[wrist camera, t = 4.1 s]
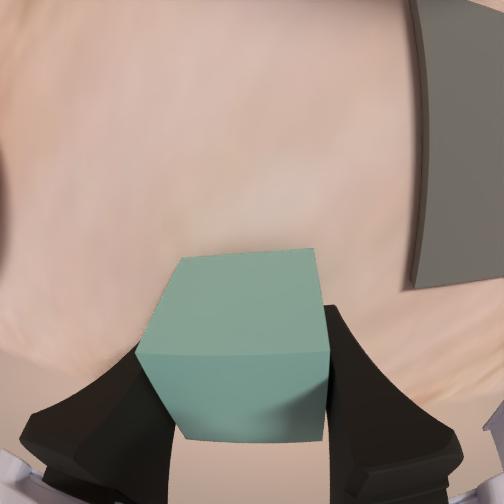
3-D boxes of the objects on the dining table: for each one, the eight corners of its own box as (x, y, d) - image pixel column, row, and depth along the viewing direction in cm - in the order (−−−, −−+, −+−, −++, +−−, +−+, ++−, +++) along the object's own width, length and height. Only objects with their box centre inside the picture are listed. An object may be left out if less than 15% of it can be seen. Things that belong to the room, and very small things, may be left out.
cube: (315, 344, 14) (322, 441, 9) (208, 348, 14) (186, 439, 10) (313, 248, 11) (330, 350, 7) (181, 257, 12) (134, 352, 8)
